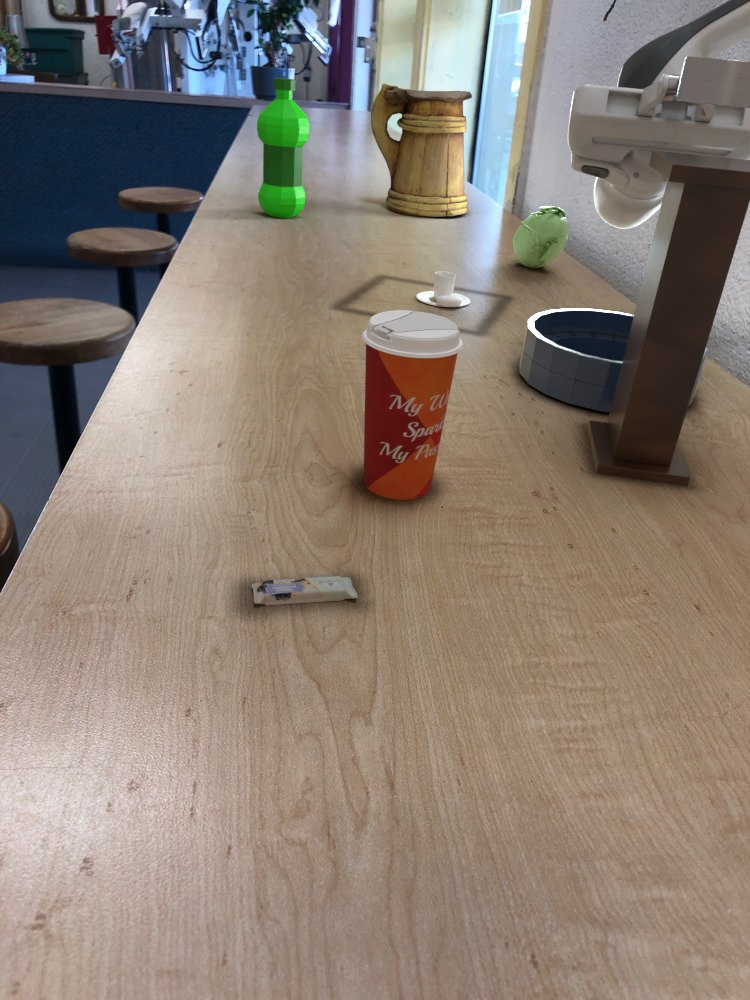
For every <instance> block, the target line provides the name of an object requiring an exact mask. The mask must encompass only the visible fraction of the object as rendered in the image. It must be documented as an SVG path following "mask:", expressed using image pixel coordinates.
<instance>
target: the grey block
mask: <svg viewBox="0 0 750 1000" xmlns="http://www.w3.org/2000/svg"><path fill="white" fill-rule="evenodd" d="M676 100H679V101H686V102H693V103H701V104H710V105H719V106H729V107H740V108H750V61H749V60H740V59H739V60H737V59H728V58H727V59H726V58H716V57H711V58H703V57H689V56H686V58H685V62H684V66H683V70H682V74H681V78H680V80H679V81H678V89H677V93H676Z"/></svg>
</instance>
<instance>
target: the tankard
mask: <svg viewBox="0 0 750 1000" xmlns="http://www.w3.org/2000/svg"><path fill="white" fill-rule="evenodd" d="M472 98H473V95H472V93H471V92H470V91H466V90H417V89H416V90H415V89H409V88H402V87H399V86H398V85H390V84H387V83H382V84H381V88H380V89H379V92H378V94H377V95H376V96H375V99H374V101H373V103H372V107H371V111H370V125H371V126H370V127H371V132H372V134H373V137H374V138H373V139H374V140H375V143H376V145H377V147H378V149H379V151H380V153H381V155H382V157H383V159H384V161H385V163H386V166H387V169H388V172H389V176H390V187H389V188H388V191H387V196H386V197H385V203H386V205H387V206H388V209H389V210H391V211H393V212H396V213H398V214H405V215H410V216H419V217H432V218H433V217H434V218H435V217H436V218H437V217H455V216H461V215H464V214H466V213H467V212H468V211H469V207H468V205H469V201H468V195H467V194H466V187H465V136H464V135H465V134H464V133H466V132H467V128H468V127H467V116H465V115H464V101H468V100H471V99H472ZM397 114H400V115H401V117H400V118H399V119H397V121H396V125H397V126H398V127H399V128H401V129H402V130H401V135H400V138H399V140H397V139H394V138H393V137H391V135H390V133H389V130H388V125H389V121H390V119H391V117H392V116H394V115H397Z"/></svg>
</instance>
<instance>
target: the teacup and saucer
mask: <svg viewBox="0 0 750 1000" xmlns="http://www.w3.org/2000/svg"><path fill="white" fill-rule="evenodd" d="M433 275H434V277H433V290H426V291H421V292H418V293H417V294H415V298H416V300H418V302H419V301H420V302H421V303H424V304H427V305H430V306H435V307H441V308H462V307H466V306H468V305H469V304H471V300H470V299H469V298H468V297H466V296H465V295H462V294H459V293H456V292H454V290H455V289H454V288H455V285H456V278H457V274H456V273H455V272H451V271H444V270H443V271H442V270H439V271H435V272H434V274H433ZM431 298H434V300H435V301H436V302H434V301H431V300H430V299H431Z"/></svg>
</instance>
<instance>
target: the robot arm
mask: <svg viewBox="0 0 750 1000" xmlns="http://www.w3.org/2000/svg"><path fill="white" fill-rule="evenodd" d="M749 37H750V0H727V1H725V2H724V3H721V4H720V5H719V6H716V7H715V8H713V9H712V10H710V11H708V12H706V13H705V14H702V15H701V16H699V17H698V18H696V19H694V20H692V21H690V22H689V23H686V24H685V25H682V26H680V27H678V28H677V27H676V29H673V30H671V31H669V32H667V33H664V34H662V35H660V36H658V37H656V38H654V39H652V40H651V41H649V42H648V43H646V44H644V45H642V46H641V47H640V48H639V49H637V50H636V51H635V52H634V53H632V54H631V55H630V57H628V58H627V59H626V60H625V62H624V63H623V65H622V67H621V68H620V72H619V76H618V80H617V84H616V86H613V85H603V84H602V85H601V84H592V83H584V84H581V85H578V86H576V87H575V88H574V90H573V94H572V99H571V106H570V111H569V113H570V114H569V119H568V128H567V145H568V148H569V150H570V152H571V153H570V154H571V155H570V167H571V169H572V170H573V171H575V172H578V173H582V174H585V175H589V176H593V177H595V178H596V179H595V182H594V188H593V204H594V207H595V211H596V212H597V214H598V215H599V217H600V218H601V220H603V221H604V222H605V223H606V224H607V225H610V226H611V227H613V228H617V229H624V230H626V229H632V228H636V227H638V226H639V225H641V224H643V223H644V222H646V221H647V220H648V219H650V218H651V216H653V215H654V214H655V213H656V212H657V211H659V210H660V208H661V204H662V200H663V196H664V192H665V188H666V184H667V179H665V178H664V177H663V176H662V175H660V174H659V173H658V172H657V171H655V170H654V169H653V168H652V167H650V166H649V163H650V159H651V155H652V151H653V150H654V151H664V152H674V153H684V154H694V155H704V156H714V157H724V158H734V159H744V160H750V108H740V107H729V106H719V105H710V104H701V103H693V102H686V101H679V100H676V93H677V89H678V81H679V80H680V78H681V74H682V70H683V66H684V62H685V58H686V56H689V57H703V58H714V57H715V56H717V55H718V54H720V53H722V52H724V51H727V50H728V49H729V48H731V47H733V46H734V45H737V44H738V43H740V42H742V41H744V40H746V39H747V38H749Z"/></svg>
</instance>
